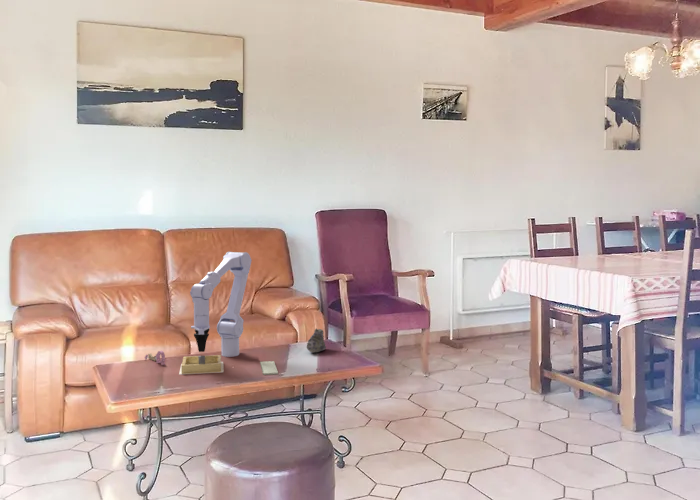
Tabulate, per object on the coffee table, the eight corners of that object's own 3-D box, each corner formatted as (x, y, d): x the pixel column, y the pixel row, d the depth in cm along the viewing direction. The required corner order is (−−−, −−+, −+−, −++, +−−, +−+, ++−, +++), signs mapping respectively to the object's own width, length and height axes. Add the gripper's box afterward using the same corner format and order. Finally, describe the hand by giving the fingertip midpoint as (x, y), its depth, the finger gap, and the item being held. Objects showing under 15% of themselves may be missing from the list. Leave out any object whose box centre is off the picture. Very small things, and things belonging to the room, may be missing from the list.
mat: (228, 364, 259) (228, 363, 259) (273, 362, 262) (273, 361, 262) (229, 376, 241) (229, 375, 241) (277, 374, 245) (277, 372, 245)
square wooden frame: (183, 364, 253) (183, 356, 253) (220, 362, 256) (220, 355, 256) (181, 373, 240) (181, 365, 239) (221, 371, 242) (220, 363, 242)
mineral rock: (310, 356, 274) (310, 332, 273) (295, 351, 282) (295, 328, 281) (334, 351, 282) (334, 328, 281) (318, 347, 290) (318, 325, 289)
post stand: (181, 367, 254) (181, 352, 254) (223, 365, 257) (223, 350, 257) (179, 378, 239) (178, 362, 238) (223, 376, 242) (223, 360, 241)
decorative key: (146, 366, 268) (166, 368, 252) (143, 367, 267) (163, 368, 252) (145, 350, 268) (164, 350, 253) (142, 350, 268) (161, 351, 252)
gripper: (191, 312, 259) (192, 345, 260) (190, 318, 245) (190, 354, 246) (209, 311, 261) (210, 345, 262) (209, 317, 246) (209, 353, 247)
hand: (201, 349), depth 254 cm, fingers open, 7 cm apart
